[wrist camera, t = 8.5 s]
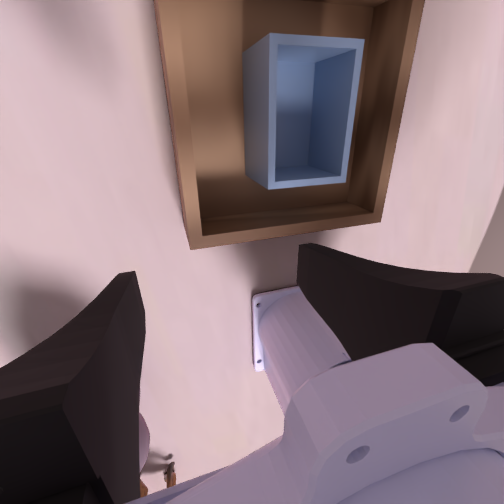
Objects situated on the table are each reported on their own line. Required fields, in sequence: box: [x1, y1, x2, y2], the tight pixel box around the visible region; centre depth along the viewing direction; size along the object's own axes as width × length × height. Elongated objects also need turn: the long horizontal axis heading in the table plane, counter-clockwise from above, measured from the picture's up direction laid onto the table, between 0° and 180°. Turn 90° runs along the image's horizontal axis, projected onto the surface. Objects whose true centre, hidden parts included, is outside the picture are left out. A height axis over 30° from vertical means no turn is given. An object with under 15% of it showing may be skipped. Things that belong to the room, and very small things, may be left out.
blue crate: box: [242, 33, 365, 190], centre depth 16 cm, size 7×5×4 cm
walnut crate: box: [154, 0, 425, 250], centre depth 17 cm, size 14×14×4 cm
